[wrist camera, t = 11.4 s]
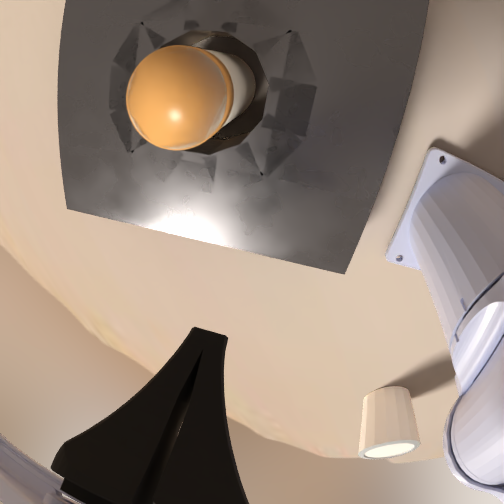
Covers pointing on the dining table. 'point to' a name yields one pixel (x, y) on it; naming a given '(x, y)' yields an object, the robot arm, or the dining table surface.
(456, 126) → the dining table surface
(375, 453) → the cream tapered cylinder
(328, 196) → the dark grey slab
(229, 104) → the plug
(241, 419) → the dining table surface
